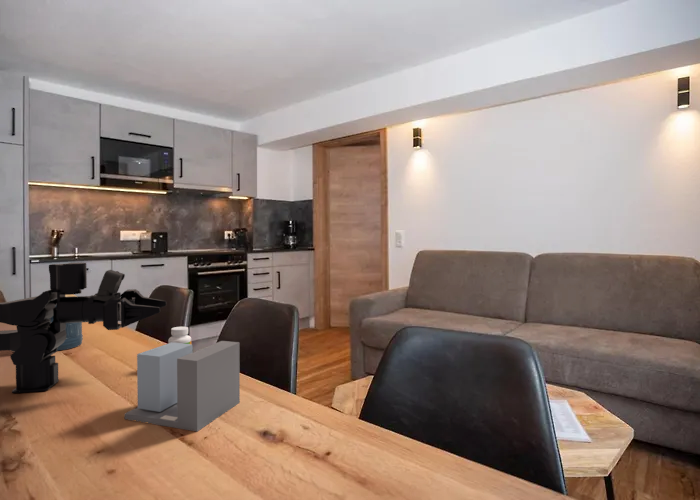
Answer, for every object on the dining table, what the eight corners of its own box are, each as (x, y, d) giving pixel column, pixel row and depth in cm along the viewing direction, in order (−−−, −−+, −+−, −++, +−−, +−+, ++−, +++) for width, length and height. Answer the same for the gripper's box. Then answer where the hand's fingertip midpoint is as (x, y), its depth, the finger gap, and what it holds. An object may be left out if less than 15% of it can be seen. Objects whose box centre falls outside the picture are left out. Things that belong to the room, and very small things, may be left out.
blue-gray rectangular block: (137, 408, 78) (137, 354, 77) (172, 391, 86) (171, 342, 86) (160, 411, 76) (159, 356, 76) (192, 394, 85) (192, 344, 84)
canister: (83, 348, 123) (82, 287, 122) (27, 355, 116) (26, 290, 115) (81, 339, 134) (81, 283, 133) (30, 344, 126) (29, 285, 126)
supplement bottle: (183, 370, 103) (183, 331, 103) (163, 369, 104) (163, 329, 104) (195, 364, 109) (195, 326, 108) (176, 362, 110) (176, 325, 109)
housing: (124, 419, 76) (123, 352, 76) (174, 393, 88) (174, 336, 88) (197, 431, 71) (196, 360, 71) (239, 402, 84) (239, 342, 83)
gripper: (70, 276, 84) (155, 275, 88) (99, 269, 102) (168, 268, 106) (71, 332, 85) (156, 328, 89) (99, 315, 102) (169, 312, 107)
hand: (163, 306), depth 98 cm, fingers open, 9 cm apart
